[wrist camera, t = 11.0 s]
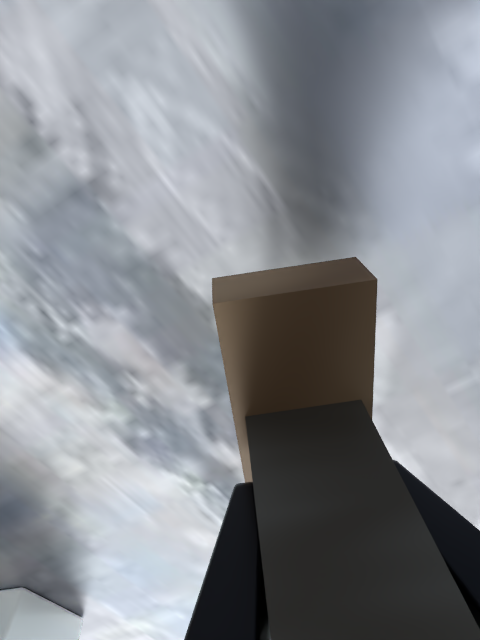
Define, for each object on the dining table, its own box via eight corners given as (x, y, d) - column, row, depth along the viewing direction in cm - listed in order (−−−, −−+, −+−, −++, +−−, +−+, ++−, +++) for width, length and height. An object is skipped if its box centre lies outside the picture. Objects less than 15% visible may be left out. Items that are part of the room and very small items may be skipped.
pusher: (355, 257, 8) (637, 552, 3) (353, 507, 12) (471, 836, 7) (211, 278, 8) (218, 613, 3) (255, 521, 12) (292, 861, 7)
